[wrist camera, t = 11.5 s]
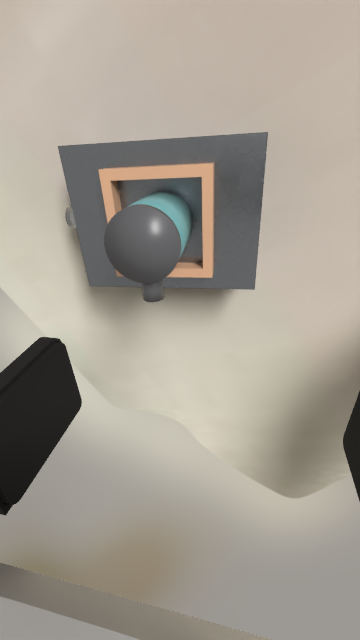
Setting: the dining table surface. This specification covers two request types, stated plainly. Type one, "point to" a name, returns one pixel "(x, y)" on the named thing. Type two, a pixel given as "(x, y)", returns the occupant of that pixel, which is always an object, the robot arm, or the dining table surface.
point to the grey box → (188, 183)
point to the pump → (149, 240)
